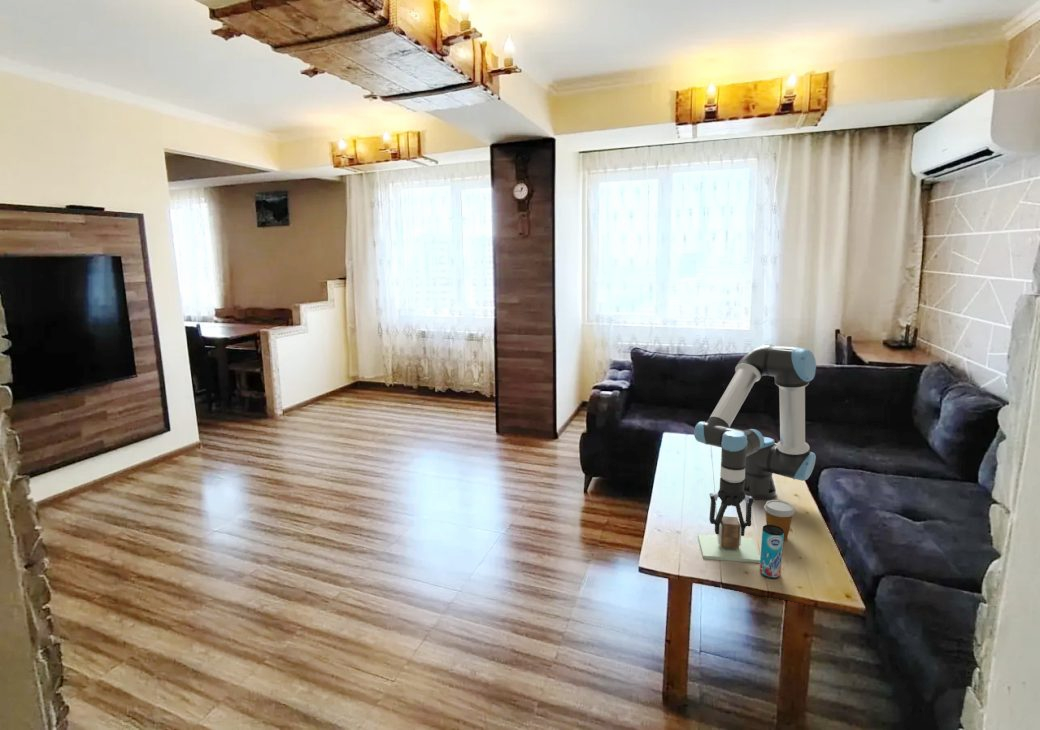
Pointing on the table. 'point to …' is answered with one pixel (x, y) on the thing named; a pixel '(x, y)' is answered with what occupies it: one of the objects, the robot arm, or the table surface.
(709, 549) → the post board
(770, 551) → the teal and black cylinder
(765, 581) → the table surface
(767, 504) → the disposable coffee cup
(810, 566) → the table surface
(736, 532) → the box
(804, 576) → the table surface
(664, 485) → the table surface
